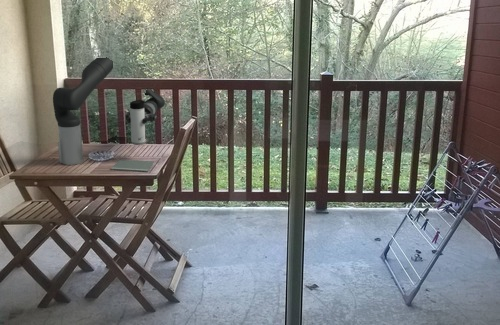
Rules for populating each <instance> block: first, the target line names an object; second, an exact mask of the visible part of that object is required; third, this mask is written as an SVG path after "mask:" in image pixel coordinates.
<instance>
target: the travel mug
mask: <svg viewBox="0 0 500 325" xmlns="http://www.w3.org/2000/svg"><path fill="white" fill-rule="evenodd" d="M144 102H145V100H143V99H137V100H132V101H130V102H129V112H130V121H131V122H130V136H131V137H130V139H131V140H130V141H131V142H130V143H131V144H132V145H134V146H141V145H145V143H146V123H145V124H143V119H144V118H145V113H144Z"/></svg>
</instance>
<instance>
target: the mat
mask: <svg viewBox="0 0 500 325" xmlns="http://www.w3.org/2000/svg"><path fill="white" fill-rule="evenodd" d="M153 163H154V164H155V161H154V160H139V159H138V160H137V159H136V160H135V159H123V158H122V159H118V161H117V162H116V163H115V164H114V165H113V166H112V167H111V168H110V170H111V171H123V172H124V171H125V172H139V173H141V172H142V173H148V172H149V171H150V170H151V168H152V167H153V166H154V164H153ZM151 166H152V167H151Z"/></svg>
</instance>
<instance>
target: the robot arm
mask: <svg viewBox="0 0 500 325" xmlns="http://www.w3.org/2000/svg"><path fill="white" fill-rule="evenodd" d="M113 69H114V68H113V61H112V60H110V59H109V58H107V57H106V58H97V57H96V58H94V59H93V60H92V61H90V62H89V63H88V65H86V66H85V67H84V68H83V70H82V72H81V82H80V83H79V84H78V86H76V87H75V88H70V87H69V88H68V87H58V88H56V89H55V90H54V91H53V94H52V104H53V106H52V107H53V112H54V117H55V120H56V122H57V128H58V129H57V130H58V137H59V138H58V140H59V141H58V143H57V147H58V149H57V150H58V159H59V160H58V161H59V164H63V165H65V166H66V165H67V166H71V165H72V166H74V165H75V166H76V165H79V164H82V163H83V162H84V155H83V152H84V151H83V141H82V139H83V138H82V129H81V119H80V117H78V116H77V115H76V114H74V113H73V112H72V111H78V110H79V109H80V108H81V107H82V106H83V104H85V102H86V101H87V99H88V98H89V96H90V95H91V94H92V92H93V91H94V90H96V88H97V87H98V86H99V84H100V83H101V84H102V82H103V81H104V80H105V79H106V78H107V77H108V75H110V73H111V72H112V70H113ZM158 94H159V93H158ZM158 94H156V93H154V92H153V91H152V90H151V89H147V90H146V93H145V95H146V96H145V97H147V96H149V97H150V98H148V99H147V100H146V101H145V100H144V101H145V102H144V113H145V118H144V119H143V124H145V125H146V124H147V123H149V122H150V123H153V122H155V120H157V117H158V116H157V111H158V110H159V111H160V109H162V108H163V107H164V106H165V105H166V102H165V98H163V96H162V95H160V94H159V95H160V96H159V95H158ZM125 121H126V123H128V124H131V121H130V111H128V112H126V114H125Z"/></svg>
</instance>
